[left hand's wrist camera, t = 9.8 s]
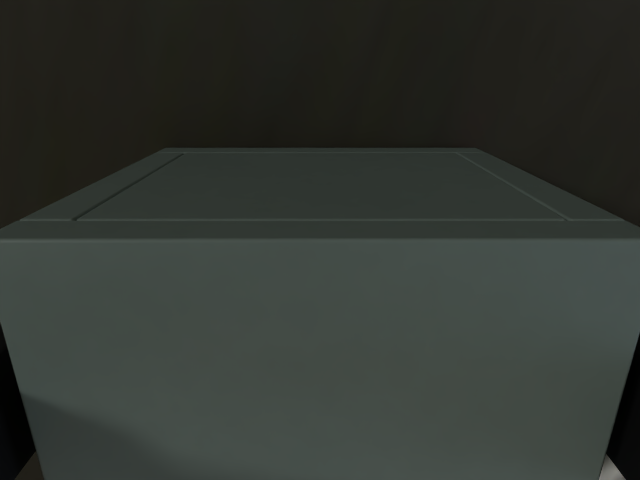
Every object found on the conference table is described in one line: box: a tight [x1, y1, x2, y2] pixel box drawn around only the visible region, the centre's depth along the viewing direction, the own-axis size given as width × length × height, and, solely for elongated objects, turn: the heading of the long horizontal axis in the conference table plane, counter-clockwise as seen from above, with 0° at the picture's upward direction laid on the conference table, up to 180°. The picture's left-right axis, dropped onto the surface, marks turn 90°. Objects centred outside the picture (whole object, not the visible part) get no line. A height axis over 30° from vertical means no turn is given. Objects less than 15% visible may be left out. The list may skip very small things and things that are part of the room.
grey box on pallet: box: [0, 148, 640, 480], centre depth 15 cm, size 17×11×10 cm, turn 0°
